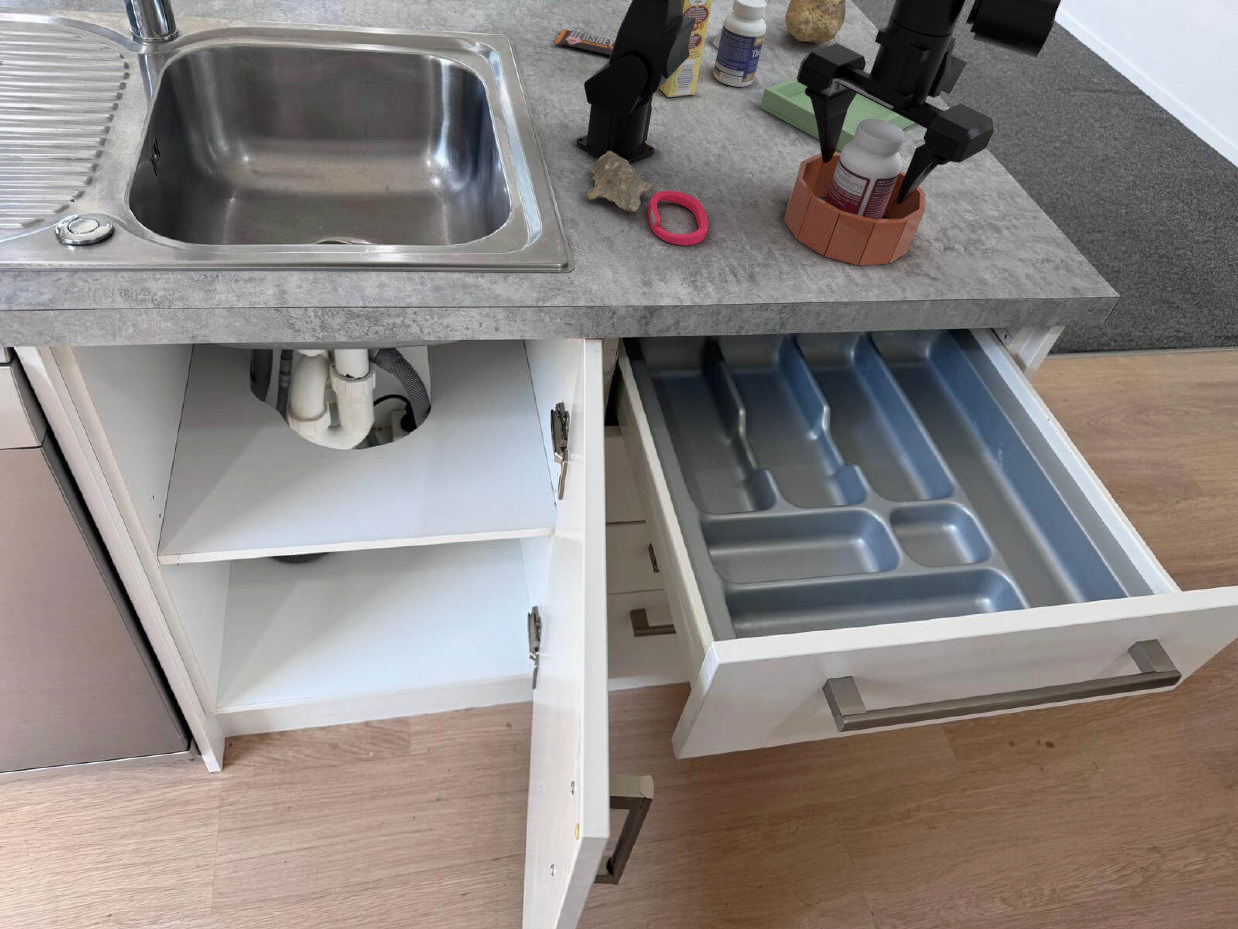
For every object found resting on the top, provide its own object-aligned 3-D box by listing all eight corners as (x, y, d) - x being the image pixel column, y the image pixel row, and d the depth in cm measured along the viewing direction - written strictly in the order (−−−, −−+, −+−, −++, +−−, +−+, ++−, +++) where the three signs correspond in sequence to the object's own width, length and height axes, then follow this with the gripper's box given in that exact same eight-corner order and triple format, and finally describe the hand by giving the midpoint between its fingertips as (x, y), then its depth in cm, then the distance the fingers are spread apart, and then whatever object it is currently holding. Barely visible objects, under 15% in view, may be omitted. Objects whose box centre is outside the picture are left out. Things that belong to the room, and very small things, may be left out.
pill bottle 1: (751, 91, 113) (770, 12, 106) (710, 82, 113) (727, 2, 106) (754, 74, 117) (774, -3, 110) (715, 65, 117) (732, -13, 110)
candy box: (695, 96, 110) (722, -38, 99) (666, 98, 109) (690, -37, 97) (663, 64, 115) (685, -66, 104) (634, 66, 114) (653, -66, 102)
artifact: (665, 219, 89) (639, 169, 96) (667, 191, 87) (640, 143, 93) (595, 227, 88) (573, 176, 94) (595, 199, 86) (573, 149, 92)
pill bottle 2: (869, 216, 96) (907, 119, 88) (879, 248, 92) (920, 149, 84) (814, 208, 96) (846, 110, 88) (821, 240, 91) (856, 140, 83)
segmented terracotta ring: (862, 280, 87) (880, 237, 84) (760, 217, 93) (773, 174, 89) (929, 238, 95) (949, 196, 91) (831, 182, 100) (845, 140, 96)
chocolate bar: (553, 45, 114) (554, 39, 114) (562, 31, 118) (563, 25, 117) (636, 64, 114) (637, 58, 113) (642, 49, 117) (643, 43, 117)
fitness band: (656, 231, 86) (652, 244, 87) (713, 237, 87) (709, 250, 88) (646, 186, 91) (644, 199, 92) (701, 192, 92) (697, 205, 93)
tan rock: (807, 54, 135) (770, 16, 133) (847, 9, 132) (809, -31, 130) (817, 60, 123) (776, 18, 121) (862, 10, 120) (820, -34, 118)
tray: (847, 155, 105) (854, 135, 103) (759, 107, 110) (764, 88, 109) (918, 121, 114) (926, 102, 112) (834, 78, 120) (840, 60, 118)
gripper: (1055, 46, 79) (979, 200, 90) (883, -29, 87) (833, 123, 98) (998, 72, 73) (924, 235, 84) (818, -11, 80) (773, 149, 92)
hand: (862, 181), depth 90 cm, fingers open, 9 cm apart
